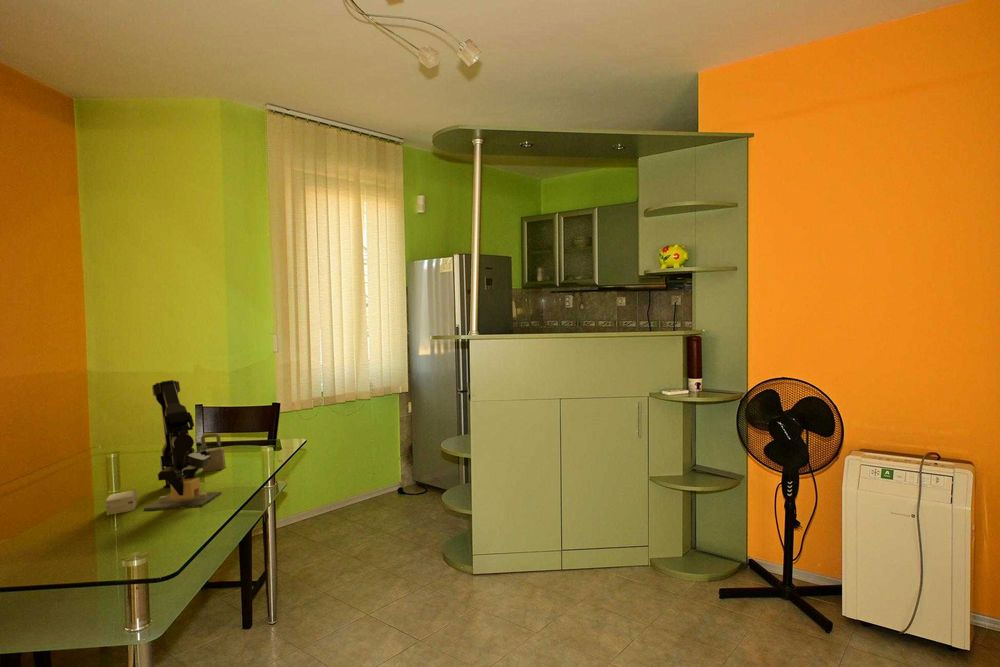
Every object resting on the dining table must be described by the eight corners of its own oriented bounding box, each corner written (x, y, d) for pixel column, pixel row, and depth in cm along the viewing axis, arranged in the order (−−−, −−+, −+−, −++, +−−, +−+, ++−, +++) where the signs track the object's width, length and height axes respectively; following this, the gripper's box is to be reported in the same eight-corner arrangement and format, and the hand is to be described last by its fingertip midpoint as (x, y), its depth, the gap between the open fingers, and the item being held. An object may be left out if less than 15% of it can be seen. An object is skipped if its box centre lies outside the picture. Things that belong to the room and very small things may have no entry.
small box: (106, 516, 188) (104, 500, 188) (111, 509, 195) (109, 494, 195) (134, 510, 191) (132, 495, 191) (138, 503, 198) (136, 489, 198)
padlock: (223, 469, 234) (218, 433, 233) (202, 472, 233) (197, 435, 232) (226, 466, 238) (222, 431, 237) (205, 469, 237) (201, 433, 236)
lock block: (172, 499, 192) (170, 484, 192) (181, 494, 198) (179, 479, 197) (192, 497, 192) (190, 482, 192) (201, 492, 197) (199, 477, 197)
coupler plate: (143, 510, 190) (142, 503, 189) (165, 498, 202) (165, 491, 201) (202, 506, 189) (201, 499, 189) (221, 493, 201) (220, 487, 201)
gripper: (187, 452, 184) (193, 500, 185) (218, 438, 203) (223, 481, 204) (154, 455, 185) (160, 502, 186) (187, 441, 203) (193, 484, 204)
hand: (186, 492), depth 195 cm, fingers closed on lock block, 5 cm apart
